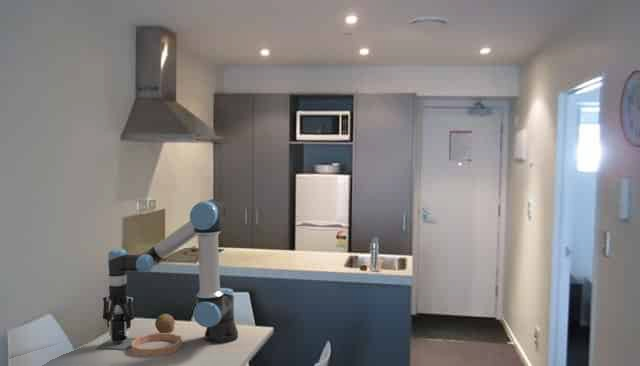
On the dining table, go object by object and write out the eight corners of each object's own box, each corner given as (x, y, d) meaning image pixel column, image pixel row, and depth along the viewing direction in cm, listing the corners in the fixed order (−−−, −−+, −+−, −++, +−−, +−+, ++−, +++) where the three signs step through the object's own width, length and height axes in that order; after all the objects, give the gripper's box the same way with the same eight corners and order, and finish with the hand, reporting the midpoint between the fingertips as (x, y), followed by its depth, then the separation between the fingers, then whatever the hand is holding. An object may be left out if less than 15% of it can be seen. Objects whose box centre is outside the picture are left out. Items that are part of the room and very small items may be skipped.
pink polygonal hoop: (189, 340, 246) (188, 334, 246) (169, 357, 225) (169, 350, 225) (146, 338, 249) (145, 332, 249) (122, 354, 229) (122, 347, 229)
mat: (141, 339, 248) (141, 338, 248) (125, 350, 234) (125, 348, 234) (113, 338, 250) (113, 336, 250) (96, 348, 237) (96, 347, 237)
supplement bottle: (121, 342, 238) (121, 315, 238) (108, 341, 240) (107, 314, 239) (130, 337, 245) (129, 311, 244) (116, 336, 246) (116, 310, 246)
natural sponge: (158, 331, 259) (158, 311, 259) (177, 331, 259) (177, 311, 259) (153, 338, 250) (152, 316, 250) (172, 337, 250) (171, 316, 250)
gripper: (142, 282, 243) (143, 333, 244) (102, 281, 246) (103, 331, 247) (134, 286, 236) (135, 338, 237) (92, 285, 239) (94, 336, 240)
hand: (119, 334), depth 242 cm, fingers closed on supplement bottle, 7 cm apart
